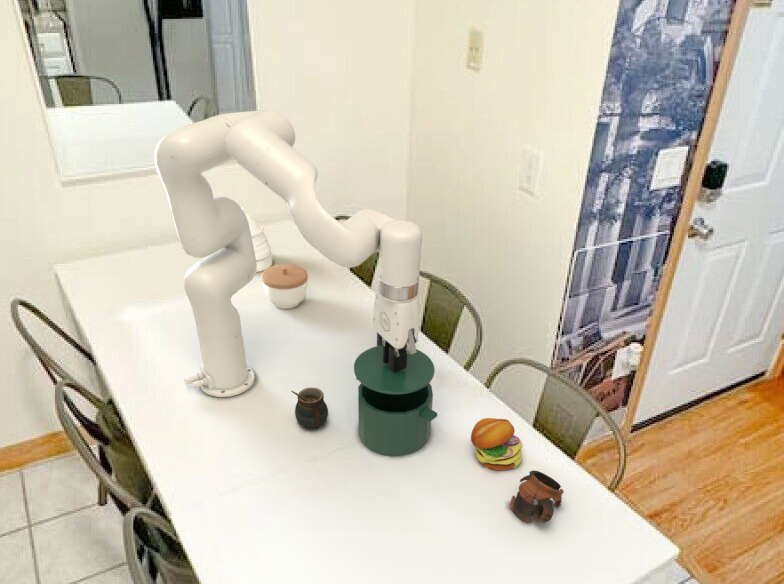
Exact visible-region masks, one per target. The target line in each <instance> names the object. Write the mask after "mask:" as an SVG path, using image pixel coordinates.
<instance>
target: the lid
mask: <svg viewBox="0 0 784 584" xmlns="http://www.w3.org/2000/svg"><path fill="white" fill-rule="evenodd" d="M383 347H384V345H381V346H377V345H375V346H372V347H370V348H368V349H366V350H364V351H363V352H361V353H360V354H359V355H358V356H357V357H356V359H355V360H354V363H353V373H354V376H355V379H356V378H357V379H358V380H357V379H356V380H357V381H358V382H359V383H360V384H361V383H362V384H363V385H364V386H366V387H367V388H369V389H371V390H374V391H377V392H380V393H385V394H407V393H412V392H415V391H418V390H420V389H422V388H424V387H425V386H427V385H428V384H431V382H432V380H433V379H434V376H435V370H436V369H435V365H434V362H433V361H432V359H431V358H430V357H429V356H428V355H427V354H426V353H424V352H423V351H421V350H420V349H417V348H416V351H417V353H416V354H413V355H407V366H406V368H405V369H402V370H399V371H397V372H393V371H392V357H393V355H394V354H395V348H394V347H393V346H392V345H390V346H389V358H388V363H384V362H383ZM403 348H404V347H403ZM403 348H400V350H401V349H403Z"/></svg>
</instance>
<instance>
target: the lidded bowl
mask: <svg viewBox="0 0 784 584" xmlns="http://www.w3.org/2000/svg"><path fill="white" fill-rule="evenodd" d="M308 279H309V274H308V271H307V270H306V269H305V268H303V267H301V266H300V265H296V264H276V265H273V266H270V267H269V268H268V269H266V270H263V272H262V273H261V281H262V286H263V291H264V294H265V297H266V298H267V299H268V300H269V301H270V303H272V304H273V305H274V306H275V307H276V308H278V309H282V310H289V309H295V308H297V307H298V306H299V305H300V303H302V301H303V300H304V299H305V298H306V295H307V292H308V287H309V286H308V285H309V283H308Z"/></svg>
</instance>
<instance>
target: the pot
mask: <svg viewBox="0 0 784 584" xmlns="http://www.w3.org/2000/svg"><path fill="white" fill-rule="evenodd" d="M355 380H357V381H359V380H358V379H357V378H356V377H355ZM357 391H358V393H357V399H358V401H357V403H358V437H359V440H360V441H361V443H362V445H364V447H365V448H367V449H368V450H369V451H371V452H373V453H375V454H378V455H381V456H386V457H404V456H408V455H411V454H414V453H416V452H418V451H420V450H421V449H422V448H424V447H425V445H427V443H428V441H429V438H430V435H431V427H432V426H431V425H432V421H433V420H434V419H436V418H437V417H438V412H437V411H436V410H434V409H433V401H434V394H433V386H432V384H431V383H429V384H428V385H427V386H425V387H424V388H422V389H420V390H418V391H415V392H412V393H407V394H385V393H380V392H377V391H374V390H371V389H369V388H367V387H366V386H364V385H363V384H362V383H360V384H359V385H358V388H357Z"/></svg>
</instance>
